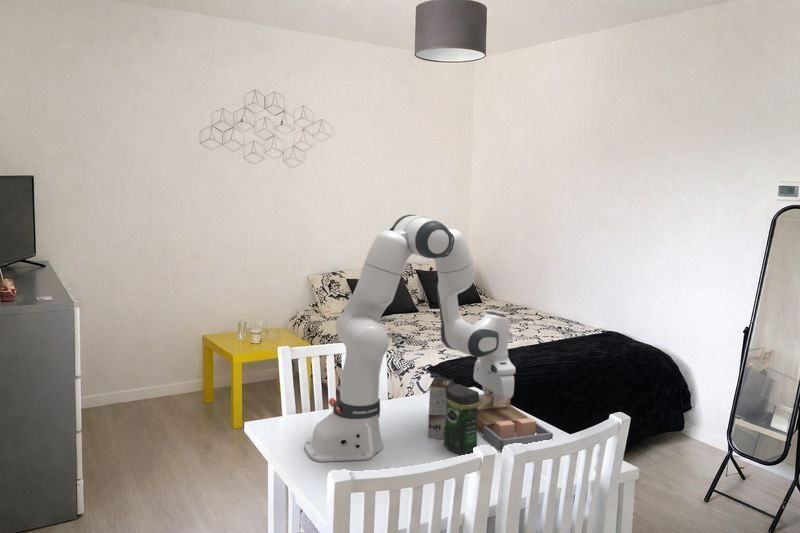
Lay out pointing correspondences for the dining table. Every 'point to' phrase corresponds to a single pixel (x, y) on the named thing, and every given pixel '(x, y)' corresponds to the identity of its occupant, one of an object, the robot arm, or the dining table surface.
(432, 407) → the coffee box
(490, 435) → the tray
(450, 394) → the coffee jar
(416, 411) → the dining table surface
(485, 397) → the beige wooden block
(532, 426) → the tile
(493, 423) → the board
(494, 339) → the robot arm
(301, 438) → the dining table surface
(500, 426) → the tile
